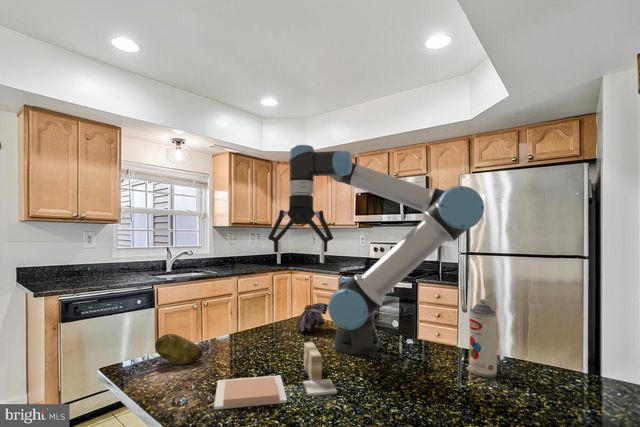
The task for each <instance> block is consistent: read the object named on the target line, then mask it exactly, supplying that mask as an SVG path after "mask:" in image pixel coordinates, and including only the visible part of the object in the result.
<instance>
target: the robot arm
mask: <svg viewBox="0 0 640 427" xmlns="http://www.w3.org/2000/svg"><path fill="white" fill-rule="evenodd" d="M314 150H315V148H314V147H313V146H311V145H310V144H309V145H308V144H295V145H293V146H292V147H291V148H290V152H289V161H288V162H289V188H288V189H289V190H288V192H289V194H290V196H289V198H288V199H289V201H288V204H289V205H288V206H289V208H288V210H283V209H280V210H279V211H278V216H277V219H276V221H275V223H274V225H273V227H272V229H271V231H270V233H269V235H268V237H267V238H268V240H269V241H272V242H273V251H274V253H276V256H277V258H276V260H277V261H276V262H277V264H280V265H281V256H282V255H281V253H282V252H281V251H282V248H281V247H282V244H281V241H280V240H281V238H282V237H284V235H285V234H286V233H287V231H288V230H290V228H291V227H292V226H293V225H295V226H296V225H297V226H300V225H302V226H303V225H304V226H305V225H306V226H307V225H309V227H311V229H312V230H313V231H314V232H315V234H316V235H317V236H318V237H319V238H320V241H319V263H321V264H325V253H327V252H328V242H329V241H332V240H334V236H333V234H332V232H331V230H330V228H329V226H328V223H327V222H326V219H325V217H324V211H323V210H318V211H315V210H314V197H313V194H314V177H326V176H327V177H330V178H332V179H333V180H334V181H336V182H338V183H343V184H346V185H349V186H352V187H354V188H357V189H359V190H363V191H365V192H368V193H371V194H373V195H376V196H378V197H381V198H384V199H387V200H390V201H392V202H395V203H398V204H401V205H404V206H406V207H409V208H410V209H411V208H412V209H413V210H418V211H420V212H421V213H422V215H423V218H422V220H421V221H420V222H419V223H417V225H416V226H414V227H413V229H411V230H410V231H409V232H408V233H407V234H405V236H403V237H402V238H401V239H400V240H399V242H397V243H396V244H394V246H393V247H391V248H390V249H389V250H388V251H387V252H386V253H385V254H383V256H381V257H380V258H379V259H378V260H377V261H376V262H375V263H374V264H373V265H372V266H370V268H368V269H367V270H366V271H365V272H364V273H363V274H358V273H357V274H354V275H353V276H352V277H341V278H340V279H339V282H338V283H339V284H338V286H339V288H338V290H336V291H334V293H332V294H331V296H330V298H329V301H328V307H327V311H328V314H329V318H330V319H331V321H332V322H333V323H334V324H335V325H336V326H337V329H336V332H335V335H334V339H333V348H334V349H335V350H337V351H338V352H341V353H344V354H349V355H369V354H375V353H376V352H377V351H379V350H380V339H379V336H378V333H377V329H376V326H375V312H376V311H377V310H378V309H379V308H380V307H381V306H382V305H383V301H384V300H383V298H384V296H385V295H387V294H388V293H389V292H390V291H391V290H393V288H394V287H396V286H397V285H398V284H399V283H400V282H401V281H402V280H404V278H406V277H407V276H408V275H409V274H410V273H411V272H413V270H415V269H416V268H418V266H419V265H421V264H422V263H423V262H424V261H426V259H427V258H428V257H429V256H430V255H432V254H433V253H434V252H435V251H436V250H437V249H438V248H440V247H441V246H443V244H444V243H446V242H455V240H457V239H458V238H459V237H460V236H462V235H463V234H464V233H465V232H466V231H467V230H468V229H470V228H473V227H475V226H476V225H477V224H479V222H480V221H481V220H482V218H483V215H484V212H485V204H484V200H483V198H482V197H481V194H479V192H478V191H476V189H474V188H471V187H469V186H465V185H464V186H463V185H456V186H452V187H450V188H447V189H446V190H444V189H439V188H437V187H432V188H428V187H427V188H426V187H424V186H421V185H418V184H415V183H412V182H410V181H408V180H404V179H401V178H398V177H394V176H392V175H389V174H386V173H383V172H381V171H377V170H375V169H372V168H369V167H367V166H363V165H361V164H357V163H354V162H353V158H352V157H353V156H352V154H351V152H350V151H349V150H340V149H339V150H338V149H337V150H332V151H331V150H328V151H314ZM286 216H288V217H289V221H288V222H287V223H286V224H285V225H284V227H283V228H282V229H281V230H280V231H279V232H278V234H277V235H276V236H275V234H276V233H277V230H278V229H279V226H280V225H281V223H282V221H283V219H284V218H286ZM314 216H315V217H316V218H317V219H318V220H319V223H320V225H321V226H322V229H323V231H322V230H321V229H320V228H319V227H318V225H317V224H316V223H315V221H314V220H313V218H314ZM323 232H324V233H325V234H324V233H323Z"/></svg>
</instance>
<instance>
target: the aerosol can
mask: <svg viewBox="0 0 640 427" xmlns="http://www.w3.org/2000/svg"><path fill="white" fill-rule="evenodd" d="M468 314H469V318H468V320H469V371H470V373H471V374H473V375H474V376H477V377H483V378H495V377H496V376H497V375H498V365H497V364H498V357H497V356H498V355H497V352H498V351H497V350H498V348H497V346H498V344H497V343H498V342H497V339H498V338H497V314H496V311H495V310H494V309H493V308H492V306H490V305H489V304H488V303H487V300H486V299H485V298H479V299H478V302H477V303H476V304H475V305H474V306H473V307H471V308H470V309H469V313H468Z"/></svg>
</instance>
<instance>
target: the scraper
mask: <svg viewBox="0 0 640 427" xmlns="http://www.w3.org/2000/svg"><path fill="white" fill-rule="evenodd" d="M322 359H323V356H322V354H321V353H320V352H319V350H318V348H317V346H316V344H314V341H310V342H309V341H307V342H303V367H304V368H305V371H306V373H307V375H308V378H309V380H303V386H304V388H305V391H306V393H307V395H308V397H311V396H312V397H313V396H320V395H321V396H322V395H323V396H324V395H331V394H332V395H333V394H338V390H337V388H336V387H335V385H334V383H333V382H332V380H331V378H324V379H323V377H322V376H323V369H322V367H323V364H322V363H323V362H322V361H323V360H322Z"/></svg>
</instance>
